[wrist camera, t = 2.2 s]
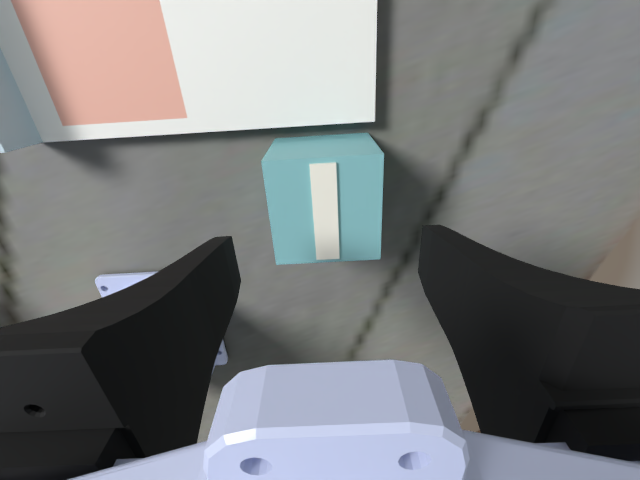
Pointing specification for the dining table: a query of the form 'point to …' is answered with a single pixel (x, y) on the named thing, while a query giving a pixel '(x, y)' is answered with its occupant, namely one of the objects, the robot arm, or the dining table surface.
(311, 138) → the cube
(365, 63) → the tray
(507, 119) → the dining table surface
